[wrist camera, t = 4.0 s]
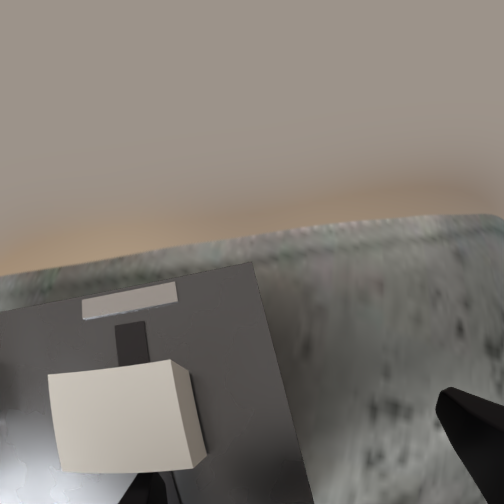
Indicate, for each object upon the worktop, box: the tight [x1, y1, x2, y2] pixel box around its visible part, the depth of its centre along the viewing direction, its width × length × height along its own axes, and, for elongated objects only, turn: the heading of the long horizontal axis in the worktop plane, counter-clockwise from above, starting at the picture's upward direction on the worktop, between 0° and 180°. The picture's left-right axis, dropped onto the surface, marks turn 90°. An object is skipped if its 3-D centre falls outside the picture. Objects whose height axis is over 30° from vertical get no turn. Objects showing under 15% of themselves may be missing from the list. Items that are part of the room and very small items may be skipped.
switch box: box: [0, 262, 314, 504], centre depth 12 cm, size 12×18×7 cm, turn 103°
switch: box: [48, 359, 207, 473], centre depth 8 cm, size 3×4×2 cm
